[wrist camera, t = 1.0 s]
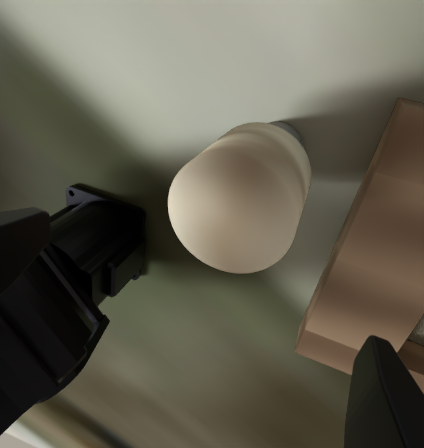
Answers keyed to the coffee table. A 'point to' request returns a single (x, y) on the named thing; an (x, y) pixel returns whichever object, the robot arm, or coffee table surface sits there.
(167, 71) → the coffee table surface
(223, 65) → the coffee table surface
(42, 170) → the coffee table surface
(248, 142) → the peg
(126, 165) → the coffee table surface
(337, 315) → the keyhole board
